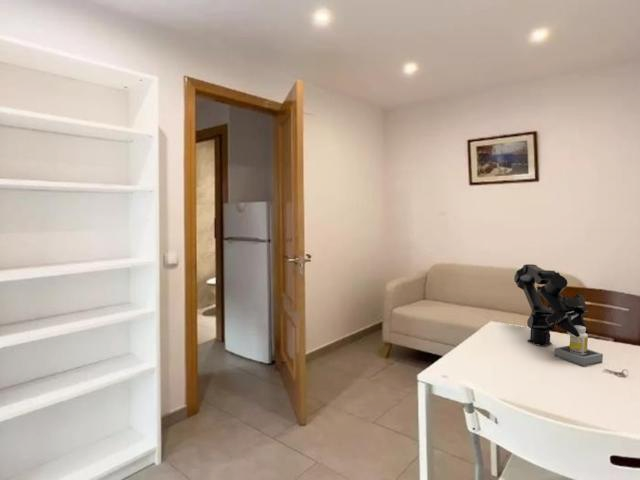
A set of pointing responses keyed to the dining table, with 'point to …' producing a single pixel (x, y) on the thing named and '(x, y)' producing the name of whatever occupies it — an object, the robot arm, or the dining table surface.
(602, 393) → the dining table surface
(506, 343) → the dining table surface
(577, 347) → the supplement bottle
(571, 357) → the tray
